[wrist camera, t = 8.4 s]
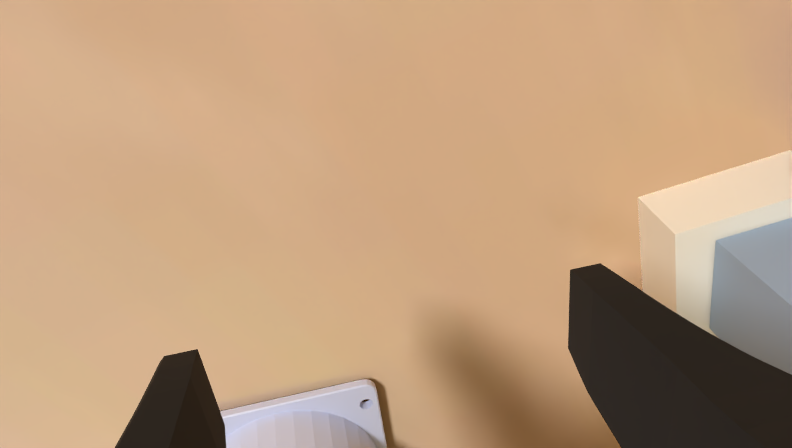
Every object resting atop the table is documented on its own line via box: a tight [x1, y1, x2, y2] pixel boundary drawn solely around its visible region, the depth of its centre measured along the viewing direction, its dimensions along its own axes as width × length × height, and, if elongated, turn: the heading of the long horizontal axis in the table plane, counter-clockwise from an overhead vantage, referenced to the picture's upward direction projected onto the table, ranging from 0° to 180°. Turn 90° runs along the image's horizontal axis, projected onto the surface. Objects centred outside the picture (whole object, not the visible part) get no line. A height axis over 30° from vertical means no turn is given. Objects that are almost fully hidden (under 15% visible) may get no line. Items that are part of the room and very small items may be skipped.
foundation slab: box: [638, 150, 792, 337], centre depth 27 cm, size 6×6×3 cm
